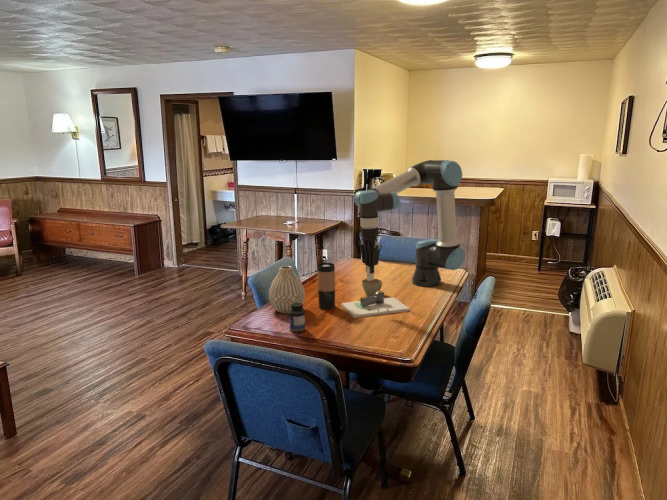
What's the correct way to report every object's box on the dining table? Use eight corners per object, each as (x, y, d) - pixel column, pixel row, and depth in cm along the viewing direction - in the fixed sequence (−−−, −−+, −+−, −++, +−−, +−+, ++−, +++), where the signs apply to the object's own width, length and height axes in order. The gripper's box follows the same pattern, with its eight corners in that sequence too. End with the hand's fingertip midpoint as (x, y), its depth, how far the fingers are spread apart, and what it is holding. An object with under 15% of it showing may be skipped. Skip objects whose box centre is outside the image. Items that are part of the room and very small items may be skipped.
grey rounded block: (379, 299, 223) (380, 289, 222) (386, 302, 220) (386, 291, 219) (358, 304, 217) (358, 294, 216) (364, 307, 213) (364, 296, 212)
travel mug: (337, 305, 222) (337, 263, 218) (332, 310, 215) (331, 267, 211) (322, 303, 225) (321, 262, 221) (316, 309, 218) (315, 266, 214)
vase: (277, 318, 206) (275, 273, 202) (264, 308, 220) (262, 265, 216) (310, 312, 214) (309, 268, 209) (296, 302, 227) (295, 261, 223)
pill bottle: (290, 327, 196) (289, 302, 194) (305, 327, 197) (304, 301, 194) (290, 333, 190) (289, 307, 188) (305, 333, 190) (304, 306, 188)
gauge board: (393, 299, 230) (393, 296, 229) (409, 311, 214) (409, 307, 213) (341, 305, 222) (341, 302, 222) (353, 317, 206) (353, 314, 206)
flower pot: (381, 298, 231) (381, 284, 230) (360, 297, 233) (360, 283, 232) (383, 292, 241) (383, 278, 239) (363, 291, 243) (363, 277, 241)
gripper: (386, 227, 203) (386, 281, 209) (366, 224, 214) (367, 275, 219) (373, 230, 199) (373, 284, 204) (352, 226, 209) (354, 278, 215)
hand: (370, 279), depth 212 cm, fingers closed
